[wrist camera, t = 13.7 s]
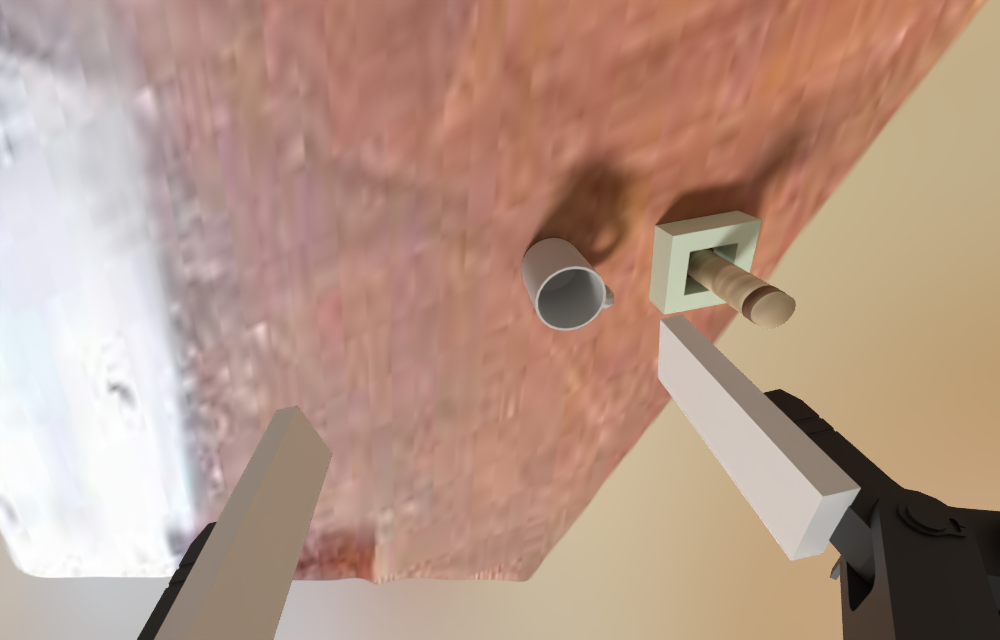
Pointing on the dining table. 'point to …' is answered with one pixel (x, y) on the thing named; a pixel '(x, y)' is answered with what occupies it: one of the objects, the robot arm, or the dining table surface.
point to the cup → (563, 285)
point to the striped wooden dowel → (741, 289)
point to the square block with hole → (676, 240)
